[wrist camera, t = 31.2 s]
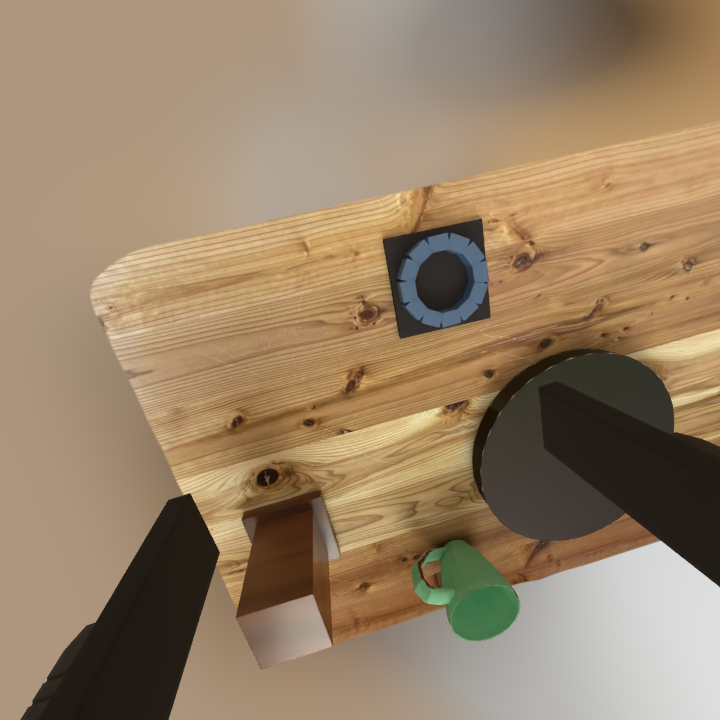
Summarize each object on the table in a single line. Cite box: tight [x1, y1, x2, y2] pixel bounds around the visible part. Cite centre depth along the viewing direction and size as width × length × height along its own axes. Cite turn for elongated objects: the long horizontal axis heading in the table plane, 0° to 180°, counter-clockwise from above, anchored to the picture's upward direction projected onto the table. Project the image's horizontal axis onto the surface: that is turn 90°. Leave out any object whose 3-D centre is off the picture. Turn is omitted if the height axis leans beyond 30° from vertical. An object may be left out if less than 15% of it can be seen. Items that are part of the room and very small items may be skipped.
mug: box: [412, 540, 520, 641], centre depth 48 cm, size 15×10×10 cm
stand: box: [236, 490, 341, 669], centre depth 42 cm, size 11×11×14 cm
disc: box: [473, 349, 675, 541], centre depth 49 cm, size 30×30×3 cm
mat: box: [383, 219, 490, 338], centre depth 41 cm, size 12×12×1 cm
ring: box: [396, 233, 489, 328], centre depth 40 cm, size 11×11×2 cm
